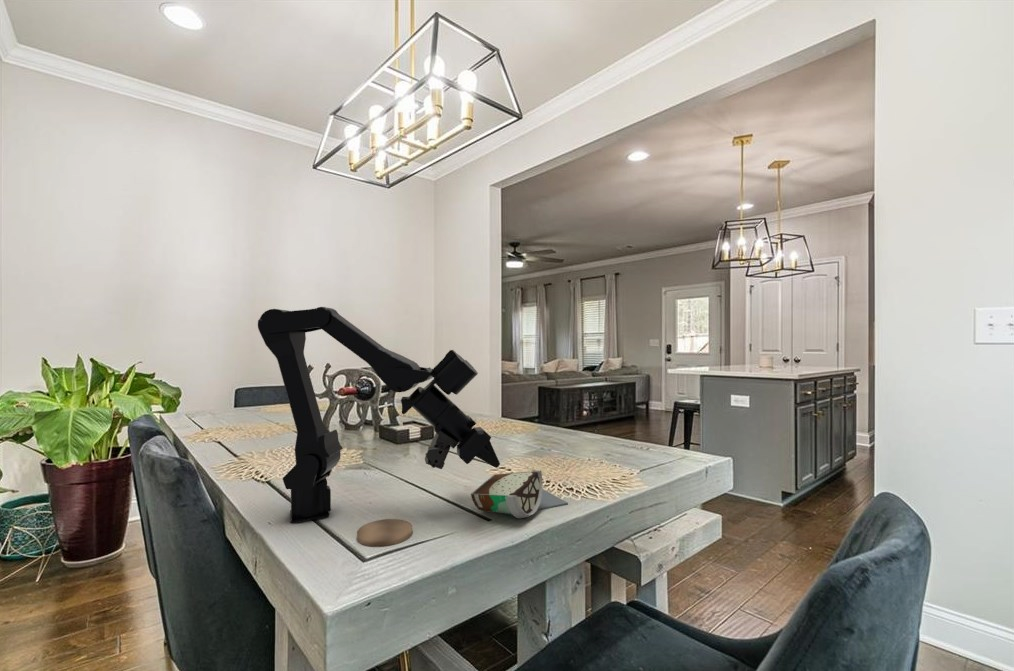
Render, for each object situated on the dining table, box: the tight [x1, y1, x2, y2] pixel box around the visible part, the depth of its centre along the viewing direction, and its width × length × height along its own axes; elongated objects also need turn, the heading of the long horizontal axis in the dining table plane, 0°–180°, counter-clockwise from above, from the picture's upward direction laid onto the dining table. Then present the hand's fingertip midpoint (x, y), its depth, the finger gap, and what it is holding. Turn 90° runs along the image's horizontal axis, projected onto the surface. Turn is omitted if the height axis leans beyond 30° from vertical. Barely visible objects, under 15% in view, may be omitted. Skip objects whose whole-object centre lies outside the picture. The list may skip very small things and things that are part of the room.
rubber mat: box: [504, 488, 569, 517], centre depth 95 cm, size 13×13×1 cm
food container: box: [470, 469, 544, 519], centre depth 88 cm, size 12×6×10 cm
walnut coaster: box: [356, 518, 413, 547], centre depth 79 cm, size 9×9×1 cm
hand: (498, 465), depth 91 cm, fingers closed
